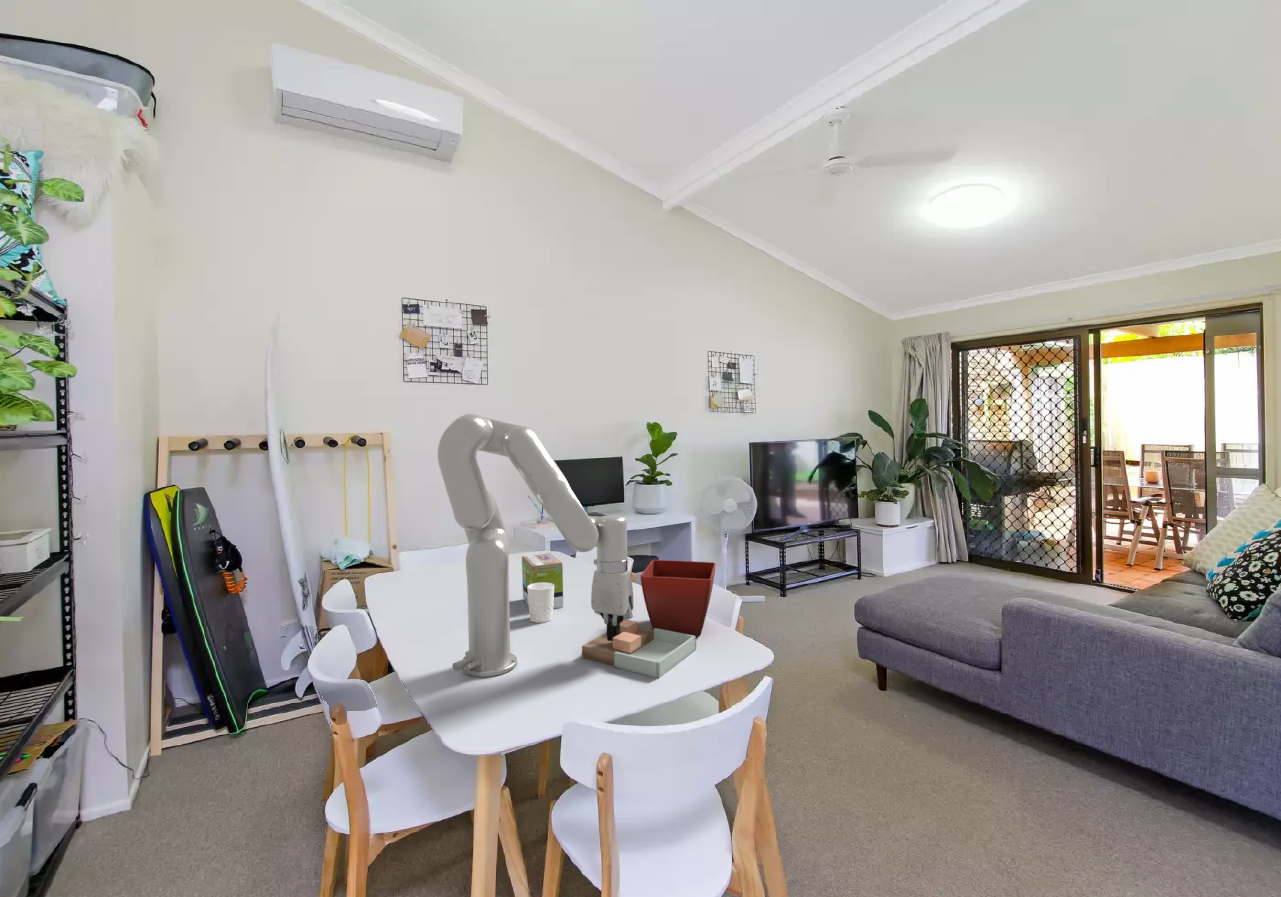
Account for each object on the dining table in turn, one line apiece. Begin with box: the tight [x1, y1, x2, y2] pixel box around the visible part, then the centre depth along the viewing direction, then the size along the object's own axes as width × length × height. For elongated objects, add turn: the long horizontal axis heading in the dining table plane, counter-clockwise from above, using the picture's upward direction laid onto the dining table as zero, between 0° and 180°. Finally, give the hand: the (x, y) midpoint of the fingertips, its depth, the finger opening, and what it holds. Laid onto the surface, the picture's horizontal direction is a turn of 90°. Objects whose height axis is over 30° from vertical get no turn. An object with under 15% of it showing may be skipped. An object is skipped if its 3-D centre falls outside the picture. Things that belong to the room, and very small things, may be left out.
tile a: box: [613, 632, 641, 653], centre depth 139 cm, size 5×5×2 cm
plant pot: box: [640, 559, 717, 637], centre depth 161 cm, size 19×19×17 cm
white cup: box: [527, 582, 554, 624], centre depth 169 cm, size 8×8×10 cm
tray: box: [614, 628, 697, 679], centre depth 139 cm, size 19×12×4 cm, turn 149°
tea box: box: [521, 552, 564, 610], centre depth 184 cm, size 15×10×15 cm, turn 25°
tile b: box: [620, 619, 639, 634], centre depth 149 cm, size 5×5×2 cm
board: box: [581, 626, 654, 667], centre depth 145 cm, size 18×10×3 cm, turn 149°
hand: (613, 639), depth 141 cm, fingers closed
